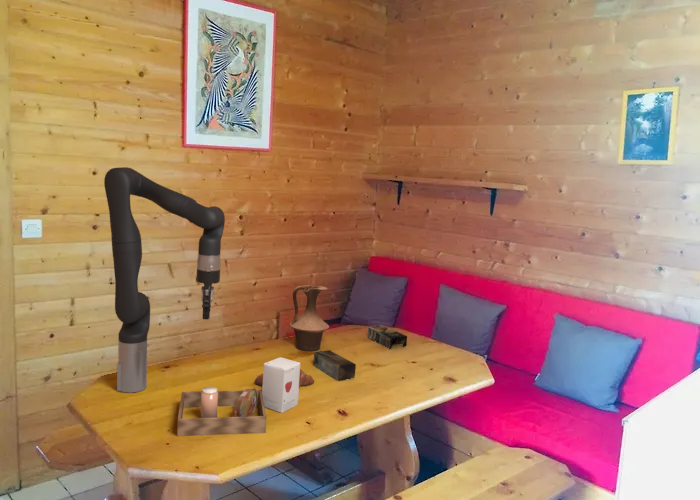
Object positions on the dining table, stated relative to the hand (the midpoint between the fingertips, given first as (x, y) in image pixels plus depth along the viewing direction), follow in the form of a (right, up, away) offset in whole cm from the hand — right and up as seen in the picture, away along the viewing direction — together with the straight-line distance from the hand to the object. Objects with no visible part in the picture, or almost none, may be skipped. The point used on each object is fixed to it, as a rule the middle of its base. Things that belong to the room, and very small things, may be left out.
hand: (206, 315), depth 200 cm
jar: (+4, -31, -12) cm, 34 cm away
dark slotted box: (+64, -21, +78) cm, 103 cm away
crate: (+8, -31, -12) cm, 34 cm away
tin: (+14, -32, -10) cm, 36 cm away
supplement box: (+24, -30, +1) cm, 39 cm away
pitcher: (+29, -21, +63) cm, 72 cm away
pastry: (+24, -28, +20) cm, 42 cm away
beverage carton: (+41, -26, +36) cm, 60 cm away
